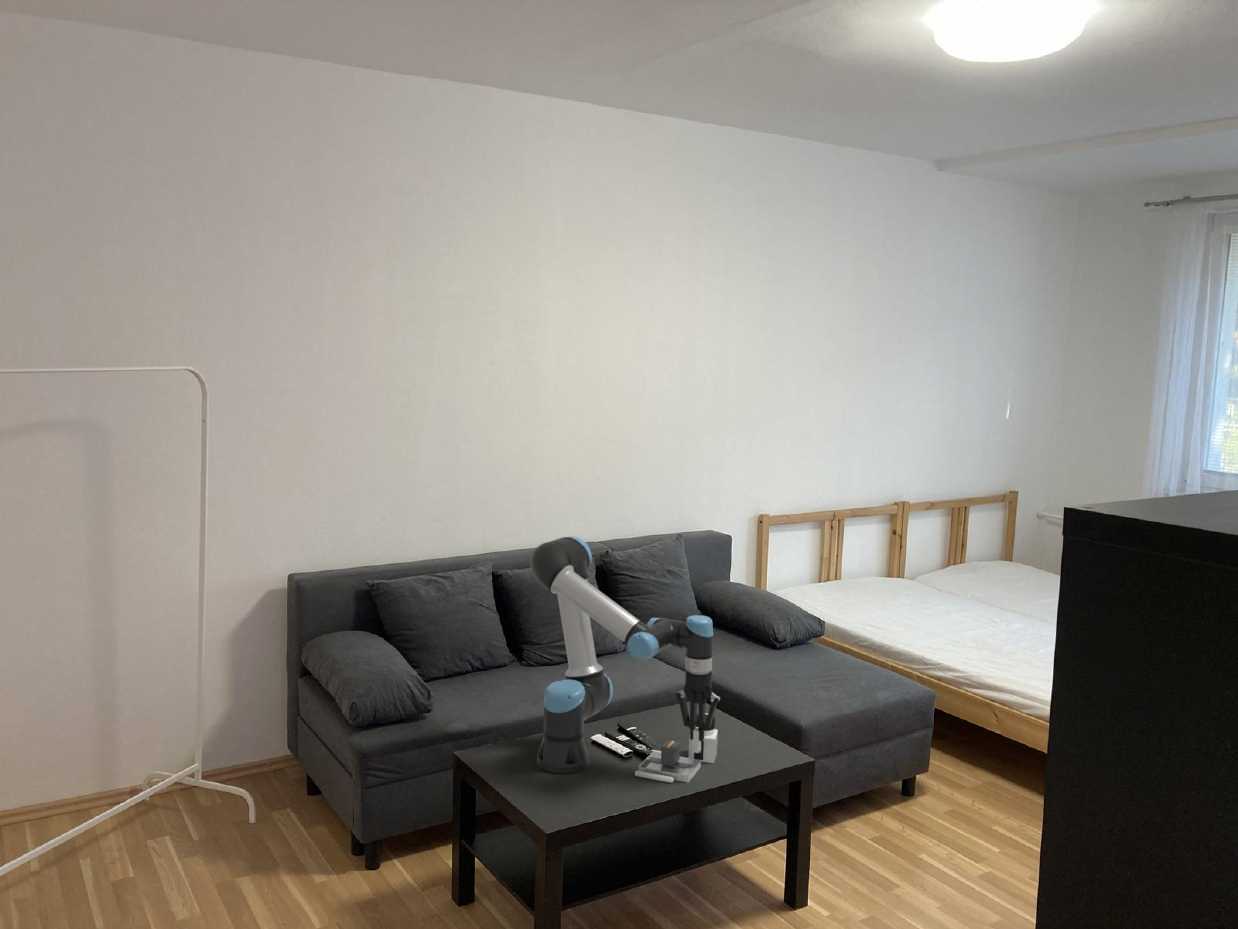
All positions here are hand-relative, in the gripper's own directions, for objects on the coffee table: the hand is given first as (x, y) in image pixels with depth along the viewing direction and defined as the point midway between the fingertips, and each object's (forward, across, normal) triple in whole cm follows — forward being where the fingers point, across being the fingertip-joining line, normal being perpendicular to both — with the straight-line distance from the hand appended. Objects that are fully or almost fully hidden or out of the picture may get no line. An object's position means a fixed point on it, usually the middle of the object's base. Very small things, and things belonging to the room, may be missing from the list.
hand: (696, 750), depth 285 cm
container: (+7, -2, +13) cm, 15 cm away
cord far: (+7, -14, +8) cm, 18 cm away
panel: (+7, -8, 0) cm, 11 cm away
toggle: (+5, -8, 0) cm, 9 cm away
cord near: (+7, -10, -8) cm, 15 cm away
